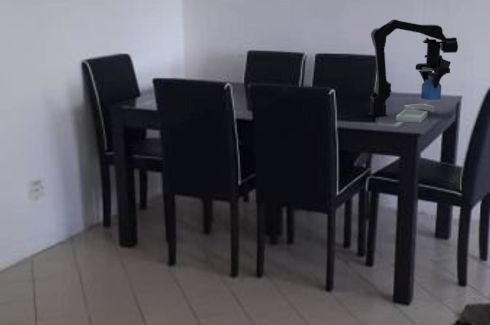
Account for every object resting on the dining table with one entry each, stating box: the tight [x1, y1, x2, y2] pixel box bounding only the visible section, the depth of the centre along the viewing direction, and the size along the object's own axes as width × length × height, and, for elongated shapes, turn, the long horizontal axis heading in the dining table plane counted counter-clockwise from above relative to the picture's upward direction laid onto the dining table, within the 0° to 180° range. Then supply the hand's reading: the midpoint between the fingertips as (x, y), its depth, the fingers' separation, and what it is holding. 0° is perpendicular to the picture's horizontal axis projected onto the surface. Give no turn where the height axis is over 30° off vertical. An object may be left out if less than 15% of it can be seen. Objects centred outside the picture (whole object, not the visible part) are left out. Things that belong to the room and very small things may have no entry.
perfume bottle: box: [420, 71, 442, 101], centre depth 300 cm, size 6×6×12 cm
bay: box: [402, 103, 435, 113], centre depth 311 cm, size 11×9×2 cm
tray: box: [395, 110, 429, 124], centre depth 294 cm, size 16×11×2 cm, turn 154°
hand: (431, 87), depth 300 cm, fingers closed on perfume bottle, 6 cm apart
